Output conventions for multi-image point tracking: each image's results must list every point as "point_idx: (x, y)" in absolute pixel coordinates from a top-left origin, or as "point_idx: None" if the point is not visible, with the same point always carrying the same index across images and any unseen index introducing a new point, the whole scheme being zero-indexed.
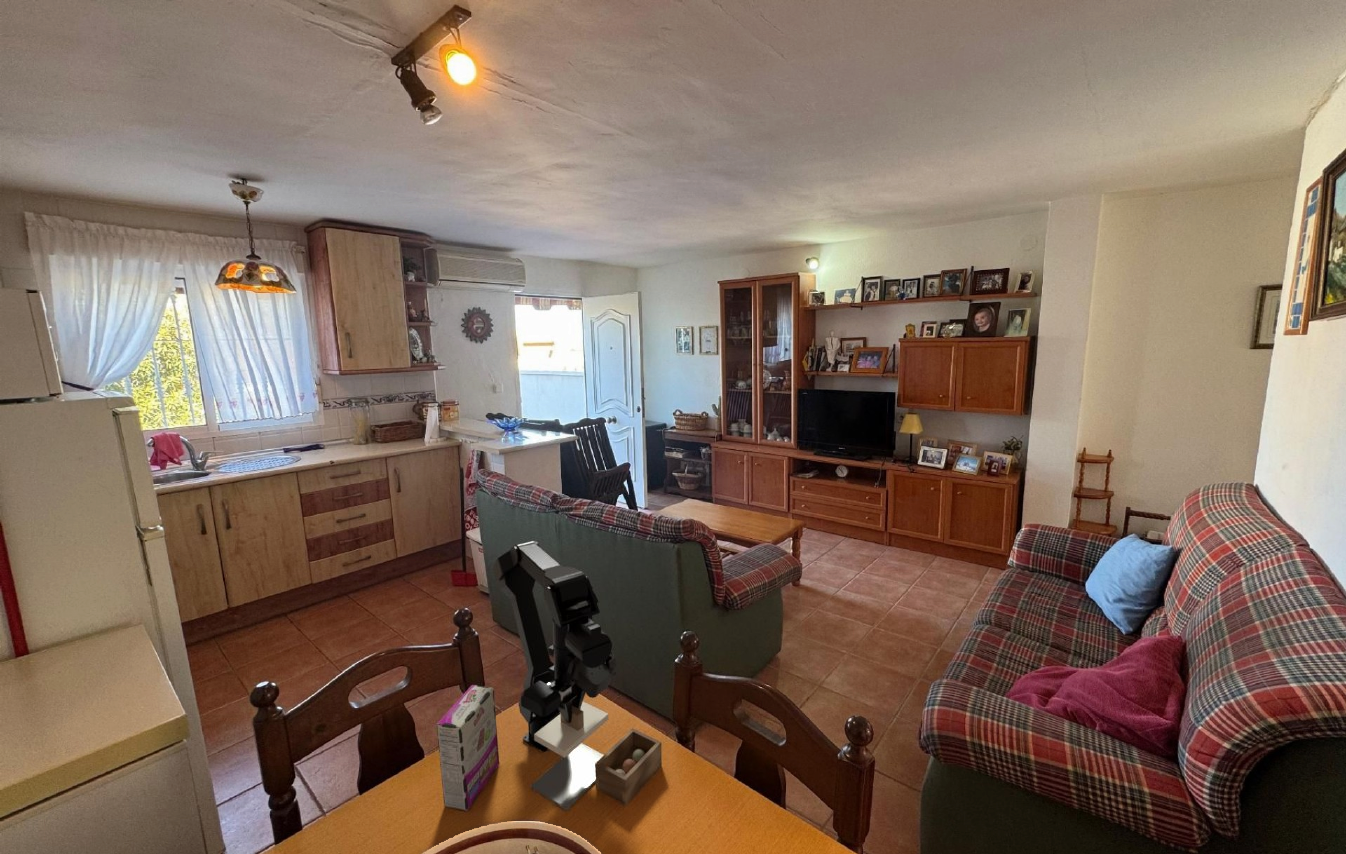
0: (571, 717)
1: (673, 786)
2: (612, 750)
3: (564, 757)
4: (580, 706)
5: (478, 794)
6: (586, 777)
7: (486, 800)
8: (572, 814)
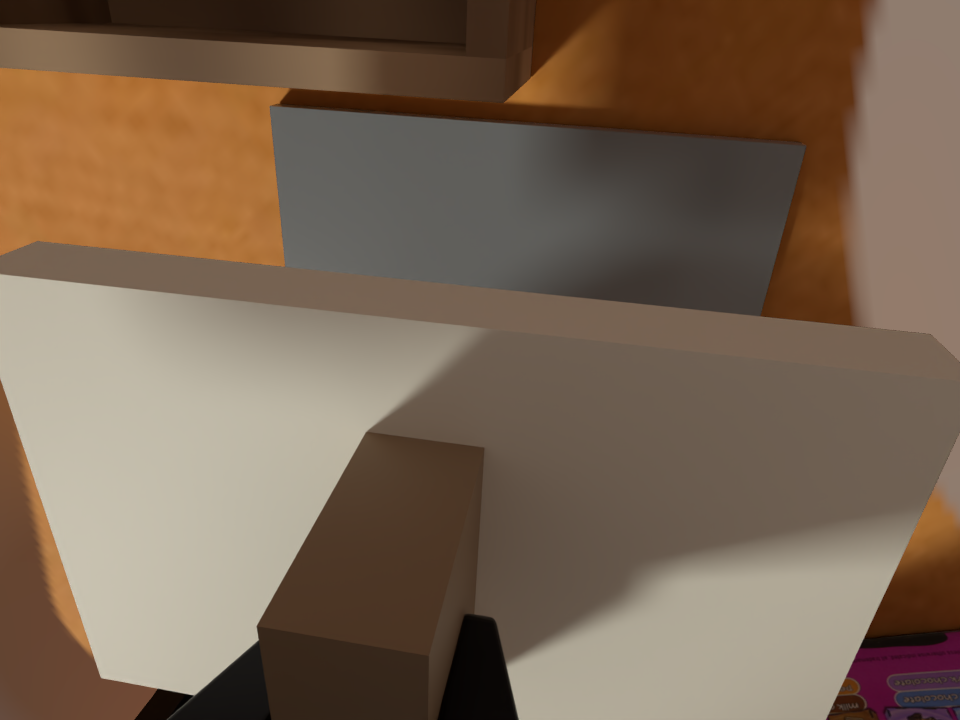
0: (452, 678)
1: None
2: (271, 53)
3: (928, 340)
4: (206, 712)
5: (872, 641)
6: (499, 194)
7: (886, 590)
8: (813, 78)
